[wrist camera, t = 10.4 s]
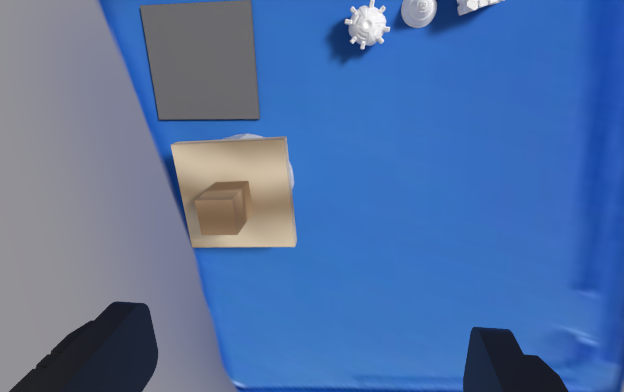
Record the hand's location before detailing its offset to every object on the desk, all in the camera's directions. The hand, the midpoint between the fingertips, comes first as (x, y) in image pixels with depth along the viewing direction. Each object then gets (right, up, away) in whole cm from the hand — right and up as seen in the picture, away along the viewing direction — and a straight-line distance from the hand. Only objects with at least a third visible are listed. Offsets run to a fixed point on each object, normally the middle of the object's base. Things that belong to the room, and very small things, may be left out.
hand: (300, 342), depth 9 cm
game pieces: (+9, +19, +22) cm, 31 cm away
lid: (-6, +4, +25) cm, 27 cm away
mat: (-10, +16, +25) cm, 32 cm away
